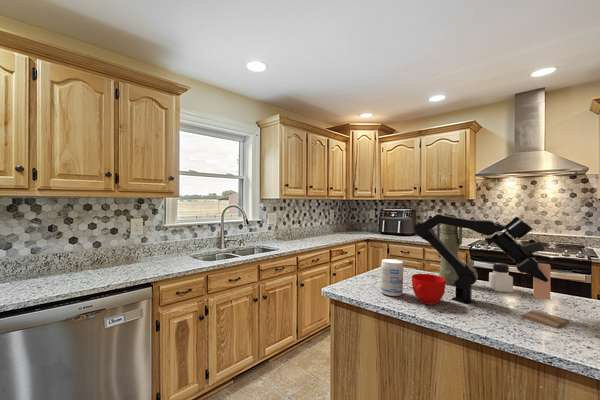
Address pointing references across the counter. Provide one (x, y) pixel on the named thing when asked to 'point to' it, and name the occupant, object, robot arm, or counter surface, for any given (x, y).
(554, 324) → the walnut board
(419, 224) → the robot arm
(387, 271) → the supplement tub
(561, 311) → the counter surface
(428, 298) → the ceramic cup
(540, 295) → the terracotta block
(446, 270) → the thermos
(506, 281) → the medicine bottle
